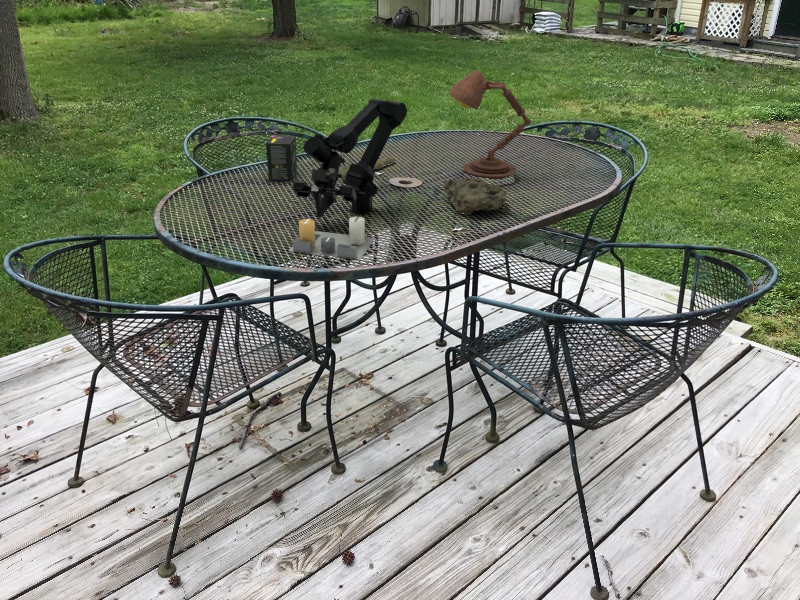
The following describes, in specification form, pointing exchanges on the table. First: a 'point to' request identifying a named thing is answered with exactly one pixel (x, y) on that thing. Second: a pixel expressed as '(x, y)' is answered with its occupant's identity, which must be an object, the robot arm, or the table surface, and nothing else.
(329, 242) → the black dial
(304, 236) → the orange knob
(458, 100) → the desk lamp
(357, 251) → the console plate
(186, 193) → the table surface
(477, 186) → the stone
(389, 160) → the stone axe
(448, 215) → the table surface
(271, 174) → the tampon box
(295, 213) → the table surface
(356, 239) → the cream knob
